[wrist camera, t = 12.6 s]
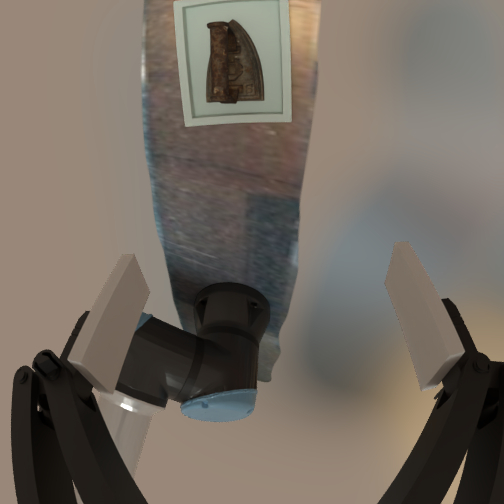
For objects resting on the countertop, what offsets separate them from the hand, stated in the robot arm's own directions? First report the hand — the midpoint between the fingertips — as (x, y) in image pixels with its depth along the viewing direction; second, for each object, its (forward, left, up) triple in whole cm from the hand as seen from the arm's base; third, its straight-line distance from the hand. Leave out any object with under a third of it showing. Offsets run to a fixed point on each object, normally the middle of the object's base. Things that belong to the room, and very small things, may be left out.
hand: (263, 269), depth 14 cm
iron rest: (+10, +4, -26) cm, 29 cm away
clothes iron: (+10, +4, -26) cm, 28 cm away
